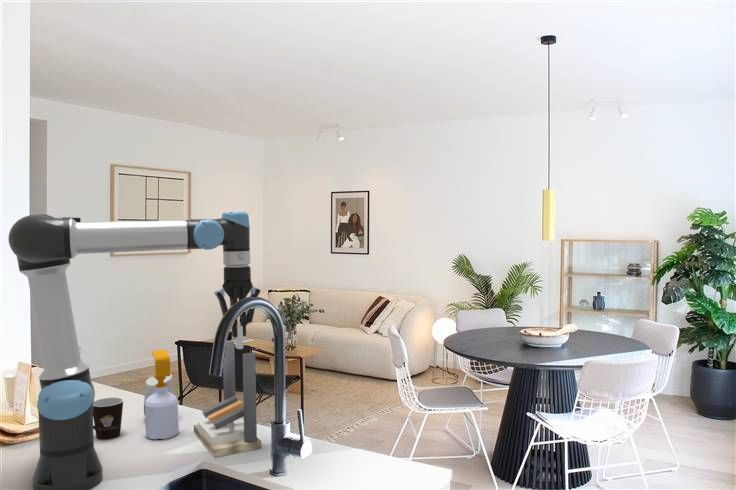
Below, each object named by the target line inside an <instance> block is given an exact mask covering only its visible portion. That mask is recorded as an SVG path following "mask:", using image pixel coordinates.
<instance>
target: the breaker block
mask: <svg viewBox="0 0 736 490" xmlns="http://www.w3.org/2000/svg"><path fill="white" fill-rule="evenodd" d="M197 425H198V429H199V430H200V431H201V432H202V434H203V435H204V436H205V437H206V438H207V440H208V441H209V442H210V443H211V444H212V445H217V444H222V443H227V442H232V441H237V440H242V439H244V418H243V417H241V418H239V419H237V420H235V421H233V422H231V423H229V424H227V425H225V426H223V427H221V428H220V429H218V430H216V429H215V428H214V425H213V423H212V424H211V423H210V422H209V420H208V419H206V420H200V421H197Z"/></svg>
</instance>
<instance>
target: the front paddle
mask: <svg viewBox="0 0 736 490" xmlns="http://www.w3.org/2000/svg"><path fill="white" fill-rule="evenodd" d="M239 418H244V407H242V408H240V409H238V410H236V411H234V412H232V413H230V414H228V415H226V416H224V417H222V418H220V419H218V420H216V421H214V422H212V423H213V425H214V428H215V429H216V430H218V429H220V428H221V427H223V426H225V425H227V424H229V423H231V422H233V421H235V420H237V419H239Z"/></svg>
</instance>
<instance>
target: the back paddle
mask: <svg viewBox="0 0 736 490" xmlns="http://www.w3.org/2000/svg"><path fill="white" fill-rule="evenodd" d="M237 401H238V398H237V397H236V395H235V396H232V397H230V398H228V399H226V400H224V399H223V400H222V401H220V402H218V403H215V404H214V405H211V406H210V407H207V408H206V409H203V410H202V414H203V416H204V418H205V419H208V418H207V416H209V415H211V414H213V413H215V412H217V411H219V410H221V409H223V408H225V407H227V406H229V405H231V404H233V403H235V402H237Z"/></svg>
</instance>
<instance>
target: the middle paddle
mask: <svg viewBox="0 0 736 490" xmlns="http://www.w3.org/2000/svg"><path fill="white" fill-rule="evenodd" d="M242 407H244V402H242V401H241V400H237V402H235V403H233V404H231V405H229V406H227V407H225V408H223V409H221V410H219V411H217V412H215V413H213V414H211V415H209V416H207V418H206V419H207V420H209V422H210V423H211V424H212V422H214V421H216V420H218V419H220V418H222V417H224V416H226V415H228V414H230V413H232V412H234V411H236V410H238V409H240V408H242Z"/></svg>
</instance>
